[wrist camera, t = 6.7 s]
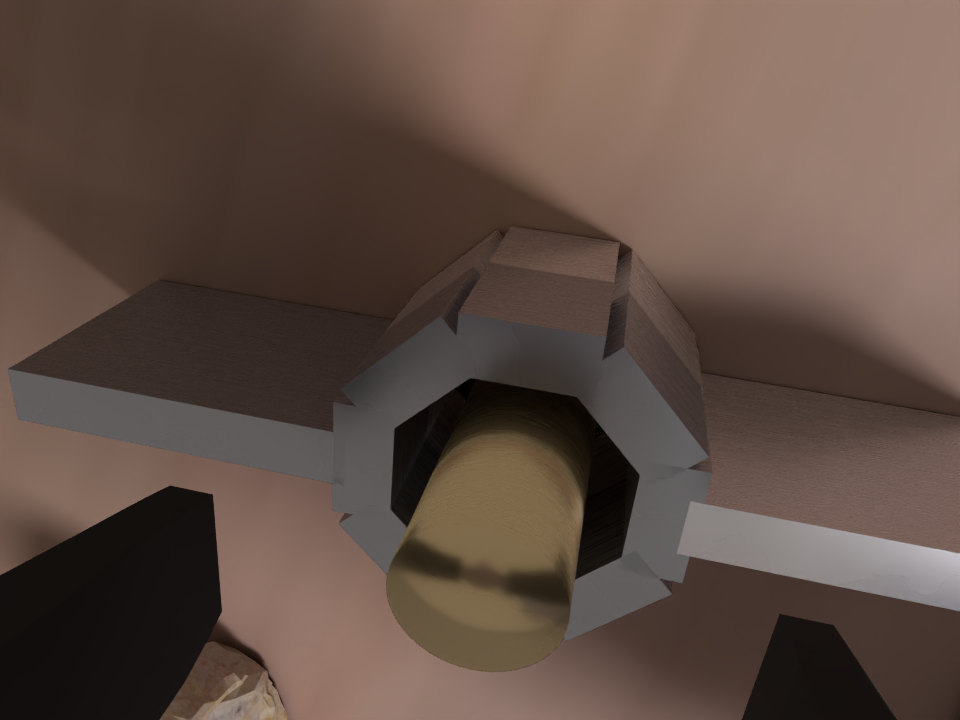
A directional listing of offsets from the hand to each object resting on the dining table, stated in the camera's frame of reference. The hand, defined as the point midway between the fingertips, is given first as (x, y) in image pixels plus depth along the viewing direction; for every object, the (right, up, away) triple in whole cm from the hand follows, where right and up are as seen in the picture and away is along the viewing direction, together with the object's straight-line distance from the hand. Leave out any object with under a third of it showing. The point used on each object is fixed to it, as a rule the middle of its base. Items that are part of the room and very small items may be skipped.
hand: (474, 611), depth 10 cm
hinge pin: (+1, +3, +6) cm, 7 cm away
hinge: (+1, +3, +6) cm, 7 cm away
